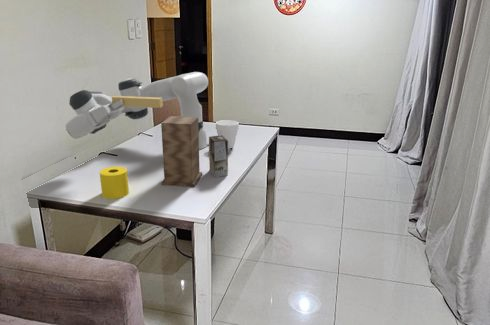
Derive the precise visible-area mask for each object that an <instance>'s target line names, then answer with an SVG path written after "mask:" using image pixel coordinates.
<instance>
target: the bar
mask: <svg viewBox="0 0 490 325" xmlns="http://www.w3.org/2000/svg"><path fill="white" fill-rule="evenodd" d="M112 96H113V97H112V103H115V102H118V101H119V100H121V99H123V100H124V102H125V103H124V104H122V105H120V106H128V107H147V108H155V109H156V108H157V109H159V108H160V109H161V108H163V107H164V103H163V102H164V101H163V98H158V97H134V96H121V95H112Z"/></svg>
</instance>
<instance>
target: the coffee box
mask: <svg viewBox="0 0 490 325" xmlns="http://www.w3.org/2000/svg"><path fill="white" fill-rule="evenodd" d="M208 143H209V145H208V150H209V151H208V153H209V155H208V156H209V159H208V160H209V163H208V164H209V171H210V173H211V174H212V175H213V176H214V177H215V178H217V177H225V176H228V174H229V165H228V164H229V163H228V162H229V161H228V160H229V159H228V157H229V149H228V140H227V139H225V138H224V137H223V136H222V135H221V136H218V135H212V136H208Z"/></svg>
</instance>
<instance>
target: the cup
mask: <svg viewBox="0 0 490 325" xmlns="http://www.w3.org/2000/svg"><path fill="white" fill-rule="evenodd" d="M239 127H240V126H239V122H238V121H236V120H230V119H224V120H223V119H222V120H218V121H216V122H215V129H216V133H217V136H221V135H222V136H223V137H224V138H225V139H227V140H228V150H231V149H230V148H232V149H234V148H233V147H235V144H236V138H237V135H238V131H239V129H240V128H239Z"/></svg>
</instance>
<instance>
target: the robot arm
mask: <svg viewBox="0 0 490 325" xmlns="http://www.w3.org/2000/svg"><path fill="white" fill-rule="evenodd" d="M142 84H143V82H141V81H139V80H138V79H136V78H132V77H129V78H128V77H127V78H123V79H122V80H121V81H120V82H118V91H119V93H120V96H134V97H158V98H163V102H166V101H170V100H175V99H177V100H178V103H179V107H180V108H179V109H180V117H198V130H199V150H203V149H205V148H206V147H209V141H207V140H208V139H207V131H206V129H205V128H204V121H203V106H202V104H201V103H200V102H199V99H198V96H197V95H198V94H199V93H202V92H203V91H204V90H206V89H207V88H208V86H209V78H208V76H207V75H206V74H205V73H203V72H200V71H193V72H188V73H187V72H186V73H182V74H179V75H175V76H172V77H171V76H170V77H168V78H164V79H160V80H156V81H153V82H150V83H148V84H146V85H142ZM113 96H114V95H110V96H108V95H106V94H105V93H103V92H102V91H90V90H86V89H81V90H78V91H76V92H74V93H73V94H72V95H70V97H69V105H70V107H71V108H72V110H74V112H75V113H76V116H74V117H73V118H71V119H70V120H69V121H68V122H66V124H65V130H66V131H67V133H68V134H69V136H70V137H71V138H73V139H81V138H82V137H83V138H84V137H86V136H87V135H89V134H91V135H92V134H93V135H94V134H96V133H97V132H99V131H101V130H103V129H105V128H106V127H107V124H108V123H110V121H111V120H114V119H118V118H119V117H120V116H121V115H122V114H124V116H125V117H128V118H129V119H132V120H136V121H137V120H143V119H144V118H145V117H147V115H148V114H149V109H148V108H149V107H128V106H120V105H122V104H124V103H125V102H124V100H123V99H121V100H119V101H118V102H115V103H112V97H113Z"/></svg>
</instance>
